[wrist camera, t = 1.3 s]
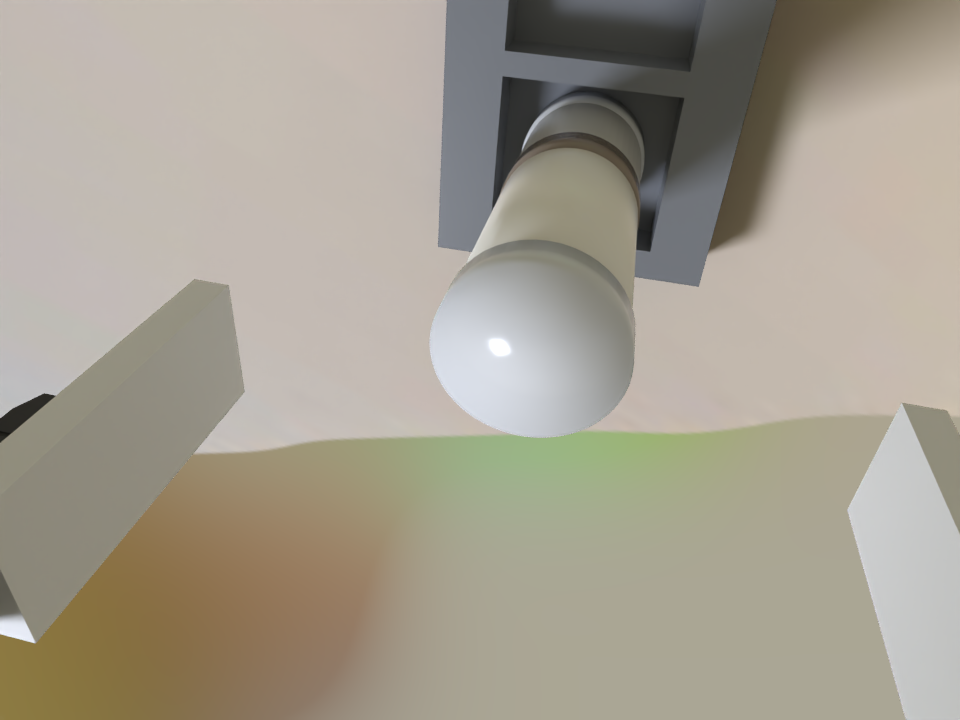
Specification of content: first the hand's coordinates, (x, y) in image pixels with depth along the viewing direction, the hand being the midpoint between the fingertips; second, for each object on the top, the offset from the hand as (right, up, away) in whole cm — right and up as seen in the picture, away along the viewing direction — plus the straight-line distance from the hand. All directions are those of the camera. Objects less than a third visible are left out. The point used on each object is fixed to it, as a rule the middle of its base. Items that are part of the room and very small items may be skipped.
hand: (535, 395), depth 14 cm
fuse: (+3, +8, +12) cm, 15 cm away
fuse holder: (+3, +11, +11) cm, 16 cm away
